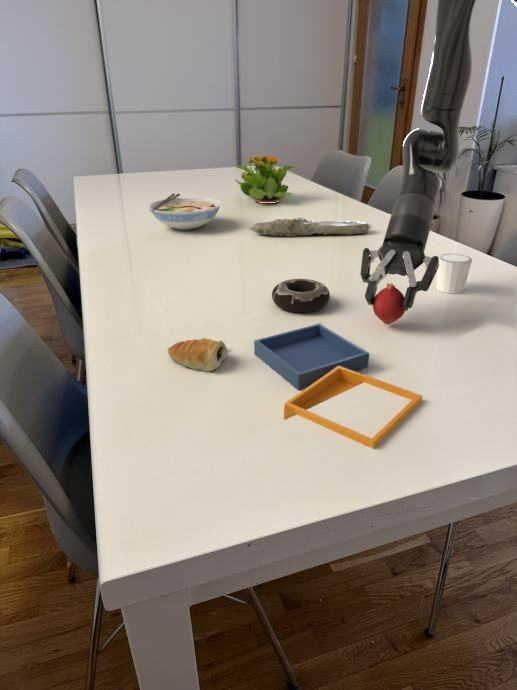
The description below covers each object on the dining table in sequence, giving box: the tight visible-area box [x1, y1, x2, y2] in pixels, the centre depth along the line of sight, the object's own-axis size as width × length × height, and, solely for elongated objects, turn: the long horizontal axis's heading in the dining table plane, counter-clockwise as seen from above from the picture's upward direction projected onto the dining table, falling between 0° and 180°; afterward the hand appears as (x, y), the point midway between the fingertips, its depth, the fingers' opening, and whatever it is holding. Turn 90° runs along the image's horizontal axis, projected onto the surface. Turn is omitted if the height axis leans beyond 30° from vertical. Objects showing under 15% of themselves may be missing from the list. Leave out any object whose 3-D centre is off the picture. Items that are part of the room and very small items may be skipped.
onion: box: [372, 282, 406, 326], centre depth 93 cm, size 6×6×8 cm
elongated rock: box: [252, 217, 370, 238], centre depth 154 cm, size 35×5×10 cm
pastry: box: [167, 337, 228, 372], centre depth 83 cm, size 9×7×4 cm
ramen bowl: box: [147, 193, 222, 231], centre depth 161 cm, size 25×23×8 cm
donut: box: [271, 278, 331, 314], centre depth 104 cm, size 12×12×4 cm
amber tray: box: [283, 366, 423, 449], centre depth 69 cm, size 13×13×3 cm
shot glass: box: [436, 252, 473, 294], centre depth 110 cm, size 7×7×7 cm
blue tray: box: [253, 323, 370, 391], centre depth 82 cm, size 13×13×3 cm
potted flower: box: [234, 153, 296, 202], centre depth 193 cm, size 25×24×18 cm
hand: (387, 305), depth 91 cm, fingers closed on onion, 5 cm apart
